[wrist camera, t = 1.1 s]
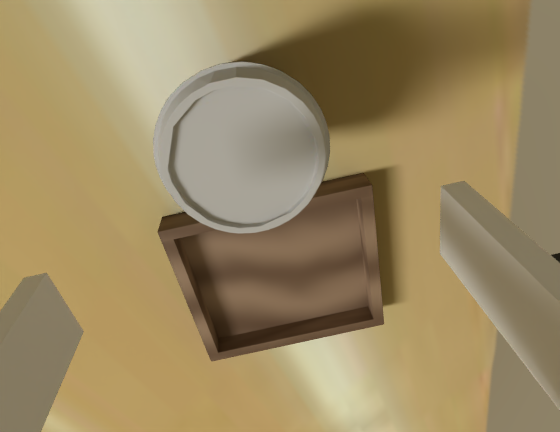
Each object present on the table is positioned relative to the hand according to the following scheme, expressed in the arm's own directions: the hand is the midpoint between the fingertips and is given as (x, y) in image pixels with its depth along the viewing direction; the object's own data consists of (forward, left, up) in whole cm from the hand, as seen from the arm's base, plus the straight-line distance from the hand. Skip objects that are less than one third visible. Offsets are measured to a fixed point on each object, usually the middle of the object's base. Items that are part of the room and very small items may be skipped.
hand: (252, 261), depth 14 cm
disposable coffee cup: (0, 0, -21) cm, 21 cm away
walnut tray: (+16, 0, -21) cm, 26 cm away
